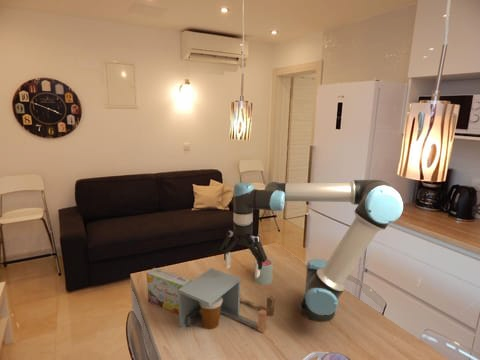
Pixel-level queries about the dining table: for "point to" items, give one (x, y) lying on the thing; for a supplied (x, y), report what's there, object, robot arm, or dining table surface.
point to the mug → (265, 273)
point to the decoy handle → (255, 306)
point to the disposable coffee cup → (211, 313)
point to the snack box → (165, 289)
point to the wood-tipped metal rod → (260, 325)
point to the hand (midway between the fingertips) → (242, 271)
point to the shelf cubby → (209, 293)
